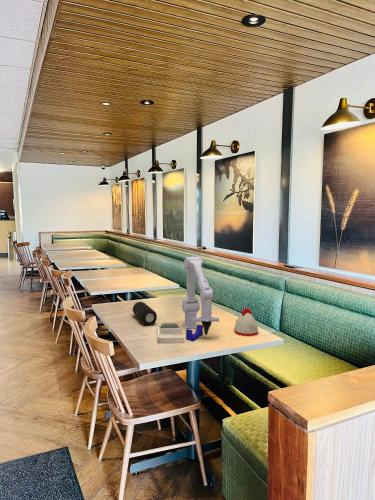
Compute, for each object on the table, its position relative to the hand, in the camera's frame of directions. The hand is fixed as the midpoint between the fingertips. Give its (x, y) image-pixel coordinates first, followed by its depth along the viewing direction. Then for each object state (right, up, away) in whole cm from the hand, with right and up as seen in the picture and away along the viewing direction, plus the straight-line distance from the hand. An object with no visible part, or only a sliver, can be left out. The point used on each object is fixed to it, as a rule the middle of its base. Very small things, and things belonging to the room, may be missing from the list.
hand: (205, 334), depth 203 cm
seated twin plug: (-21, -1, +9) cm, 23 cm away
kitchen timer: (+25, -2, +12) cm, 27 cm away
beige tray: (-20, -2, +2) cm, 20 cm away
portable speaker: (-38, +1, +32) cm, 50 cm away
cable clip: (-6, -3, +1) cm, 6 cm away
